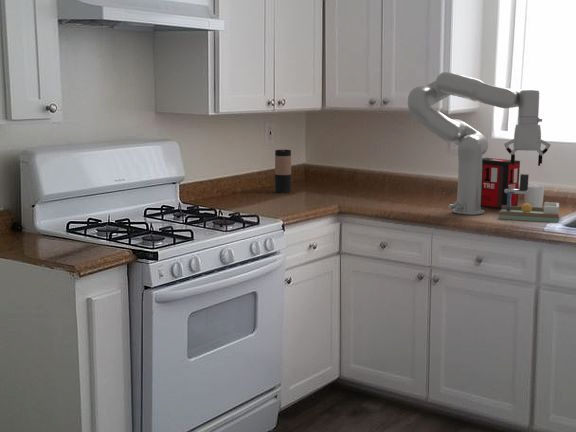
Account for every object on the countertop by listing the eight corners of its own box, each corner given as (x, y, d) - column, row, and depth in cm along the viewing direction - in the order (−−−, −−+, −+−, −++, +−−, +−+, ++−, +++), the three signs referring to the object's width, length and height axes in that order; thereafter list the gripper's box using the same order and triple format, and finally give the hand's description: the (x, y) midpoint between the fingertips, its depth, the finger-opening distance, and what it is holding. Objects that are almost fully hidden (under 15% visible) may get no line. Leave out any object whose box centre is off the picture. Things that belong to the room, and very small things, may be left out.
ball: (526, 214, 311) (527, 204, 310) (518, 212, 314) (519, 203, 314) (533, 213, 313) (534, 203, 312) (525, 212, 316) (526, 202, 316)
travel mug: (272, 191, 381) (273, 149, 377) (288, 190, 383) (288, 149, 380) (277, 193, 374) (277, 151, 370) (293, 193, 376) (293, 150, 373)
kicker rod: (526, 210, 316) (528, 173, 314) (526, 213, 311) (528, 175, 308) (503, 209, 319) (505, 172, 317) (502, 211, 314) (504, 174, 311)
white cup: (527, 207, 337) (529, 184, 336) (546, 209, 333) (547, 185, 331) (520, 209, 331) (521, 186, 330) (538, 211, 327) (540, 187, 325)
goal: (558, 212, 315) (559, 202, 314) (558, 217, 305) (559, 207, 304) (543, 212, 317) (544, 202, 316) (543, 216, 307) (543, 206, 306)
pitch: (558, 215, 318) (558, 208, 317) (558, 222, 303) (558, 214, 302) (501, 212, 325) (501, 205, 324) (498, 218, 310) (499, 211, 309)
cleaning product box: (472, 205, 343) (474, 159, 339) (483, 203, 349) (486, 157, 345) (505, 210, 331) (508, 162, 327) (517, 207, 337) (520, 160, 333)
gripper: (551, 120, 309) (549, 164, 312) (505, 120, 314) (504, 163, 317) (551, 121, 302) (549, 166, 305) (504, 121, 307) (502, 165, 310)
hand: (526, 165), depth 311 cm, fingers open, 9 cm apart
